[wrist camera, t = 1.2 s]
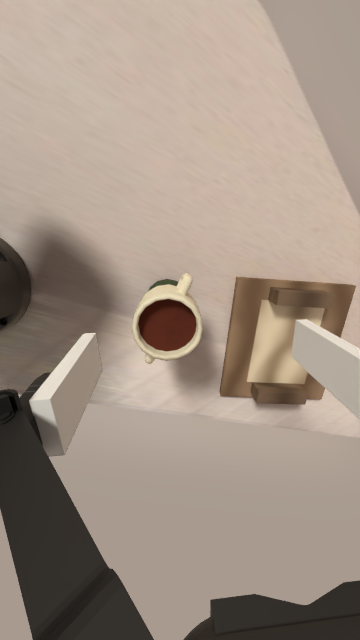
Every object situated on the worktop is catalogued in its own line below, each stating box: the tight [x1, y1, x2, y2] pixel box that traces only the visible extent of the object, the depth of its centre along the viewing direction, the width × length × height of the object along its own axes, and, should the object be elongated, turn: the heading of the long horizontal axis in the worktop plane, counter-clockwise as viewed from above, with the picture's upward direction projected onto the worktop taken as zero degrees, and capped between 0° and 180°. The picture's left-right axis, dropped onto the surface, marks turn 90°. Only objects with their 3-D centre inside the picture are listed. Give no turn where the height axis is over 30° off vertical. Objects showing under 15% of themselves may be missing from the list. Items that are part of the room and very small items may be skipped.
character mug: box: [132, 273, 203, 364], centre depth 30 cm, size 11×7×13 cm, turn 154°
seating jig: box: [220, 277, 356, 404], centre depth 37 cm, size 18×20×4 cm
